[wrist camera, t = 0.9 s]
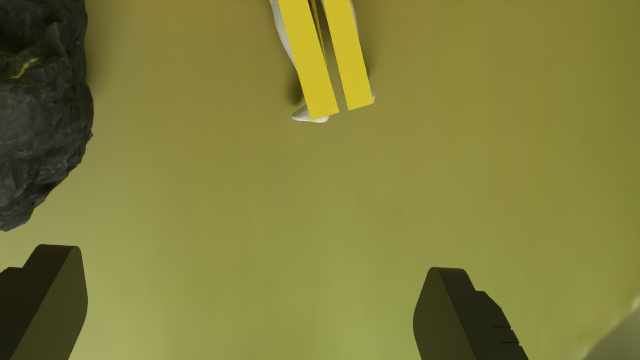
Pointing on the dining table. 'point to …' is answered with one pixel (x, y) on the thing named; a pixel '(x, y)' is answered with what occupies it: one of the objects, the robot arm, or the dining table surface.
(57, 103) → the rock
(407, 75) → the dining table surface
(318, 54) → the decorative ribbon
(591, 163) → the dining table surface
